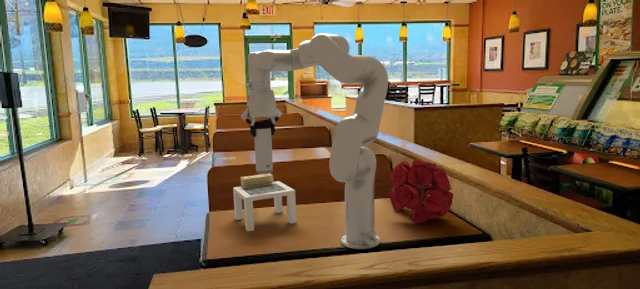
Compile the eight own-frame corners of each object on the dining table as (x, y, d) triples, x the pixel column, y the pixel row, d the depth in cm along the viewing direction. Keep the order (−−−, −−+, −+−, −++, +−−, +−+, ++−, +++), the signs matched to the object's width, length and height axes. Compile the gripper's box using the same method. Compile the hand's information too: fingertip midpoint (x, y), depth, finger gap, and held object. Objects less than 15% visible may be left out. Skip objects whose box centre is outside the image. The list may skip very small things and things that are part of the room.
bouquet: (377, 232, 172) (414, 214, 146) (367, 175, 181) (400, 147, 154) (425, 228, 179) (469, 210, 153) (413, 173, 187) (453, 147, 161)
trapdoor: (284, 192, 167) (284, 180, 166) (251, 197, 161) (250, 185, 161) (271, 183, 181) (270, 173, 180) (240, 188, 175) (239, 177, 175)
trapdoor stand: (296, 222, 167) (295, 190, 165) (247, 231, 159) (245, 197, 157) (280, 210, 183) (278, 181, 181) (235, 218, 175) (233, 187, 173)
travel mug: (272, 173, 163) (270, 119, 160) (254, 174, 163) (252, 120, 160) (274, 170, 169) (272, 118, 166) (257, 170, 169) (255, 118, 166)
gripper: (239, 87, 154) (242, 138, 157) (286, 85, 161) (288, 134, 164) (234, 87, 161) (237, 136, 164) (279, 85, 168) (281, 132, 171)
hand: (262, 135), depth 164 cm, fingers closed on travel mug, 6 cm apart
